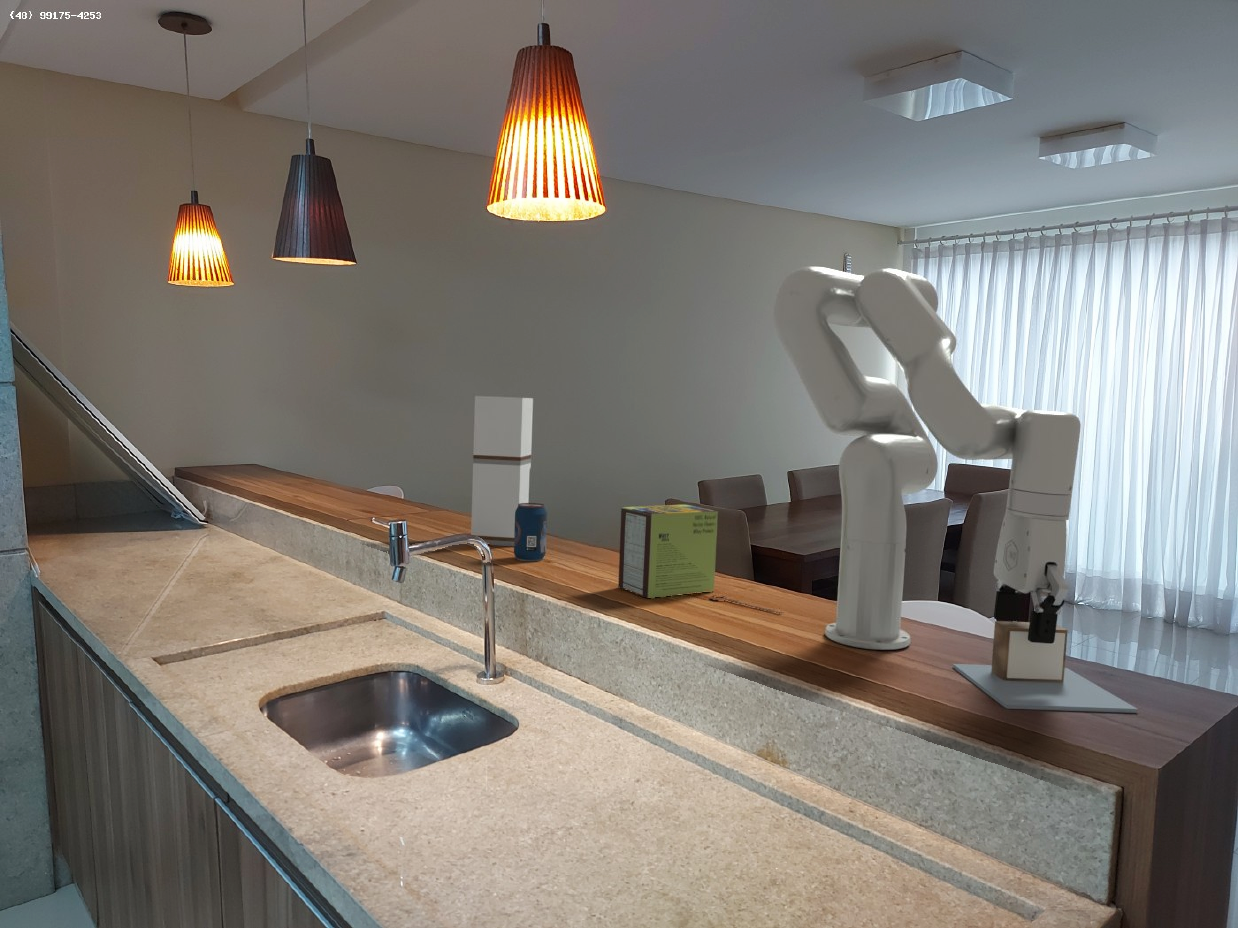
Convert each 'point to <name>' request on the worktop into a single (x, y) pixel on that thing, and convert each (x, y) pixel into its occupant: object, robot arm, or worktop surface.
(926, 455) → the robot arm
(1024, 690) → the rubber mat
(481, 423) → the banded white tower
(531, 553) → the soda can
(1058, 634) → the wooden block
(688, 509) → the protein box
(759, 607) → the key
